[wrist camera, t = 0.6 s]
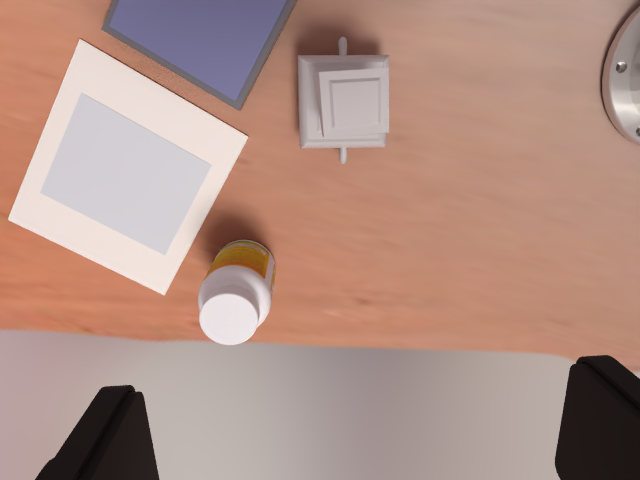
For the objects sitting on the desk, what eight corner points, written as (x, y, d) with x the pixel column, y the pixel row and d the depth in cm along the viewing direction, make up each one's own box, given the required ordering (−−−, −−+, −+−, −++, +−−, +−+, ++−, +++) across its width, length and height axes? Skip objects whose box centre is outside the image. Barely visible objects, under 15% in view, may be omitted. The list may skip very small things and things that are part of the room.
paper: (81, 39, 33) (79, 38, 32) (248, 136, 35) (248, 136, 35) (9, 219, 36) (7, 219, 36) (165, 294, 39) (164, 295, 39)
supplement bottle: (203, 252, 38) (173, 301, 29) (259, 228, 38) (247, 271, 28) (231, 303, 40) (210, 365, 31) (285, 281, 39) (281, 337, 30)
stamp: (296, 41, 33) (295, 23, 25) (383, 40, 34) (409, 22, 26) (300, 160, 36) (300, 178, 28) (380, 158, 36) (402, 175, 28)
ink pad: (158, -92, 30) (151, -101, 29) (297, 0, 32) (297, -4, 31) (108, 31, 32) (99, 28, 31) (240, 110, 35) (238, 110, 33)
